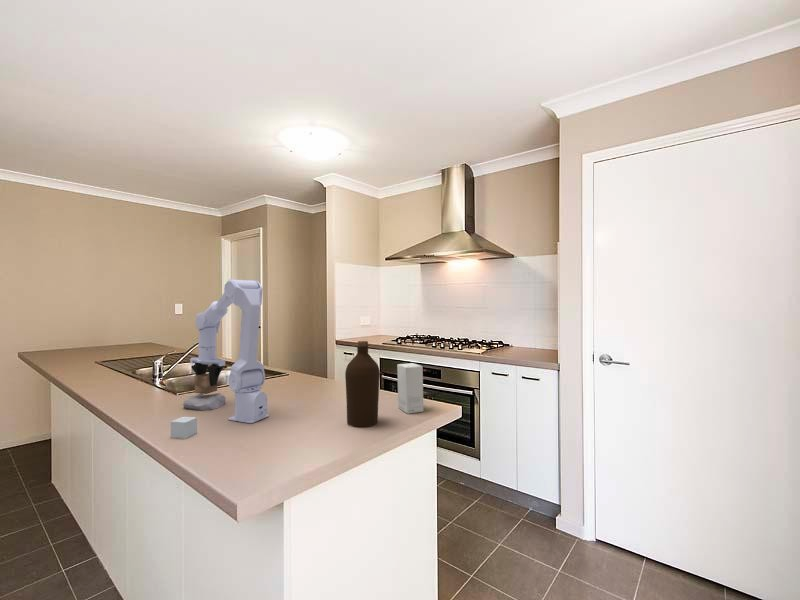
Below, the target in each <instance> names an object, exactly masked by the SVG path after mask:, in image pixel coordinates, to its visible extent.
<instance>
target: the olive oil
mask: <svg viewBox="0 0 800 600" xmlns="http://www.w3.org/2000/svg"><path fill="white" fill-rule="evenodd" d="M368 344H369V342H368V340H359V341H357V346H356V347H357V349H356V351H357V352H356V355H355V356H354V357H353V358H352V359H351V360H350V361H349V363H348V364H347V366H346V369H345V373H344V374H345V375H344V377H345V396H346V397H345V398H346V399H345V400H346V423H347V425H349V426H350V427H354V428H368V427H373V426H375V425H377V424H378V423H379V422H378V421H379V397H380V396H379V394H380V379H381V372H380V371H381V370H380V367H379V365H378V363H377V362H376V360H374V358H372V356H371V355H370V354H369V345H368Z"/></svg>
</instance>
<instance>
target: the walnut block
mask: <svg viewBox="0 0 800 600" xmlns="http://www.w3.org/2000/svg"><path fill="white" fill-rule="evenodd" d="M214 392H215V393H216V392H218V384H217V385H215V386H210V377H209V372H206V373H205V374H201V375H197V376H196V375H194V394H203V395H209V394H212V393H214Z"/></svg>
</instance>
